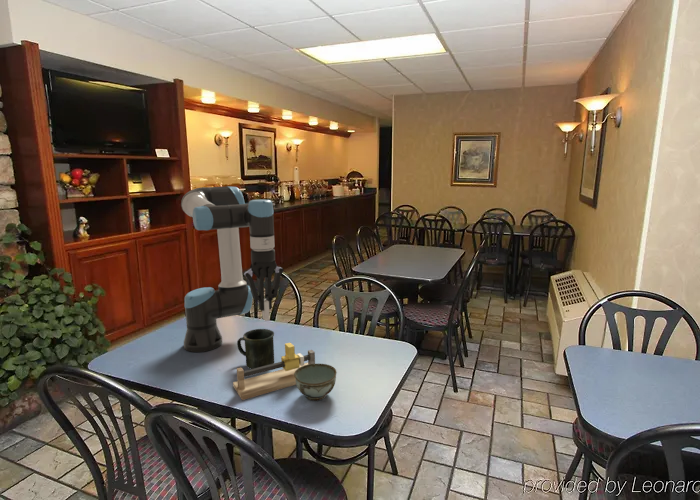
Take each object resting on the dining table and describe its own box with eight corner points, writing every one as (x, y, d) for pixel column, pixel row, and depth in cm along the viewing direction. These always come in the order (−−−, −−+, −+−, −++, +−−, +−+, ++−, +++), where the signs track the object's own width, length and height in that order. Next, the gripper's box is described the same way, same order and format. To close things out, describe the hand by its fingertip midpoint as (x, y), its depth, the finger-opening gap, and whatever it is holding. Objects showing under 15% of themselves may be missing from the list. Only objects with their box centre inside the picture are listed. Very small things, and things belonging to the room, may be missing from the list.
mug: (267, 373, 150) (265, 341, 148) (231, 368, 154) (229, 337, 152) (280, 359, 160) (279, 330, 158) (246, 355, 164) (244, 326, 162)
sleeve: (281, 366, 146) (280, 344, 144) (295, 363, 148) (294, 341, 147) (285, 371, 142) (284, 348, 141) (299, 367, 145) (298, 345, 143)
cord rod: (242, 375, 137) (241, 371, 137) (308, 358, 149) (308, 354, 149) (243, 377, 136) (243, 373, 136) (310, 359, 148) (310, 355, 148)
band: (297, 362, 148) (296, 353, 148) (300, 361, 149) (300, 353, 148) (301, 365, 145) (300, 357, 145) (304, 365, 146) (303, 356, 145)
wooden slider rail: (233, 386, 141) (231, 364, 139) (309, 365, 155) (308, 345, 153) (242, 400, 132) (240, 376, 131) (321, 377, 146) (320, 355, 145)
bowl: (342, 403, 130) (341, 379, 128) (299, 410, 126) (298, 386, 125) (331, 382, 143) (330, 360, 141) (292, 388, 139) (291, 366, 138)
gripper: (246, 253, 127) (250, 326, 132) (286, 248, 133) (289, 318, 138) (238, 249, 133) (243, 319, 138) (277, 244, 140) (280, 312, 145)
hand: (266, 319), depth 138 cm, fingers closed
